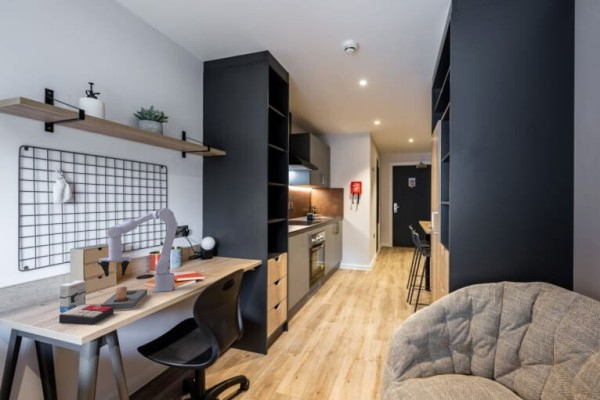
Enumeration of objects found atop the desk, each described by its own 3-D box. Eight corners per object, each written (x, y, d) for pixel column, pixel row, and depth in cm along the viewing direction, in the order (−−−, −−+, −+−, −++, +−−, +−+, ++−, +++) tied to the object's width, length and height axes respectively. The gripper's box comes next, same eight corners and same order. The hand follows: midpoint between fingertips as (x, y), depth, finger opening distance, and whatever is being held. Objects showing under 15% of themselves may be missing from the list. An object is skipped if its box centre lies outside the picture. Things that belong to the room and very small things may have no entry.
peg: (127, 305, 136) (127, 287, 135) (117, 307, 133) (117, 289, 133) (125, 303, 138) (125, 286, 138) (115, 305, 136) (115, 287, 135)
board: (147, 295, 152) (147, 289, 151) (133, 309, 132) (133, 302, 132) (119, 296, 149) (118, 290, 149) (100, 311, 129) (100, 304, 129)
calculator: (94, 316, 116) (58, 312, 117) (93, 327, 116) (58, 323, 118) (114, 306, 127) (81, 303, 128) (113, 316, 127) (81, 312, 128)
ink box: (68, 313, 128) (68, 285, 128) (59, 312, 129) (59, 285, 129) (86, 306, 136) (86, 280, 136) (77, 305, 137) (77, 279, 137)
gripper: (133, 247, 158) (133, 273, 158) (103, 248, 155) (103, 274, 155) (128, 250, 151) (128, 276, 151) (96, 251, 148) (96, 278, 149)
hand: (115, 275), depth 153 cm, fingers open, 7 cm apart
